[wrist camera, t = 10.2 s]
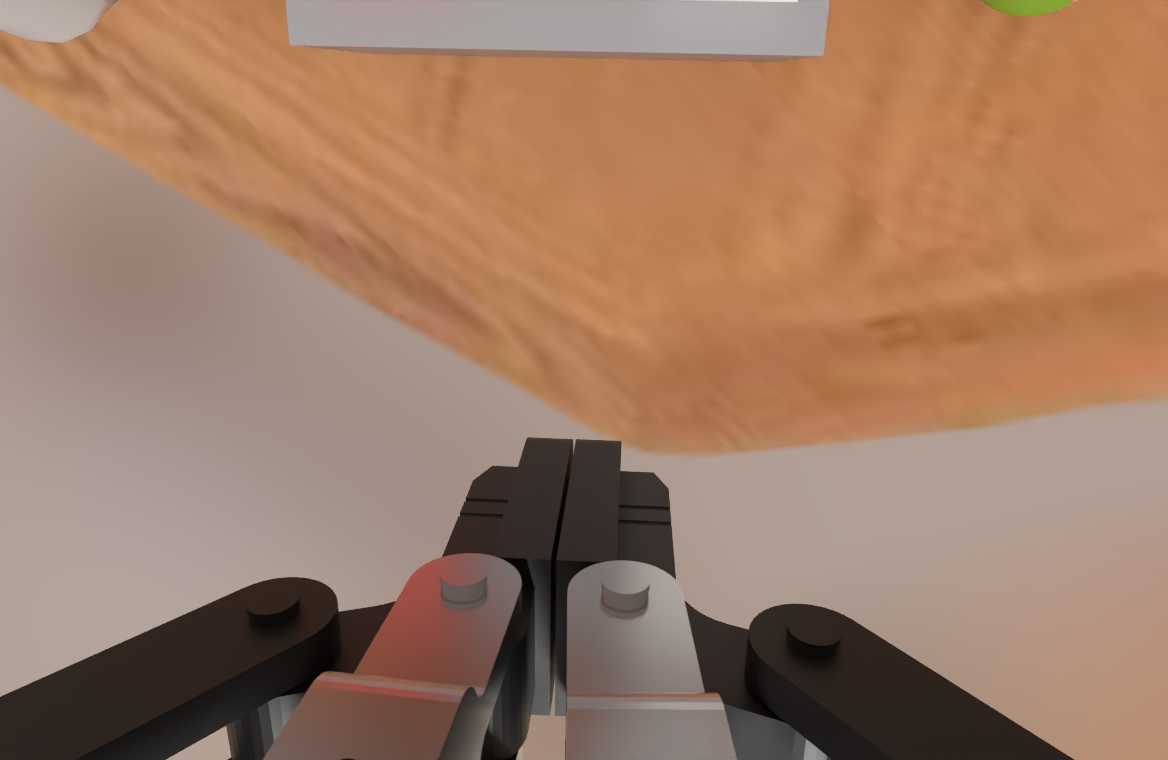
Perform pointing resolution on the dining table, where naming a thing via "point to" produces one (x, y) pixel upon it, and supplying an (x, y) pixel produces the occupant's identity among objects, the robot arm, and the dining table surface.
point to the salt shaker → (51, 18)
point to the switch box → (565, 28)
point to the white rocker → (756, 0)
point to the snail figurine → (1027, 6)
